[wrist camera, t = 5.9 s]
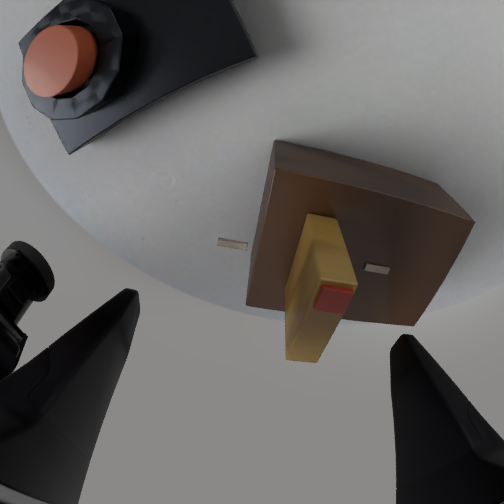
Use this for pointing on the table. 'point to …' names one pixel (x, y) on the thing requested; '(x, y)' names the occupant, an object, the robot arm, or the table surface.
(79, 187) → the table surface
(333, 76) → the table surface
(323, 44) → the table surface
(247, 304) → the brown box with slot
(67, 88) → the arm button
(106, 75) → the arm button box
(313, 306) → the block
